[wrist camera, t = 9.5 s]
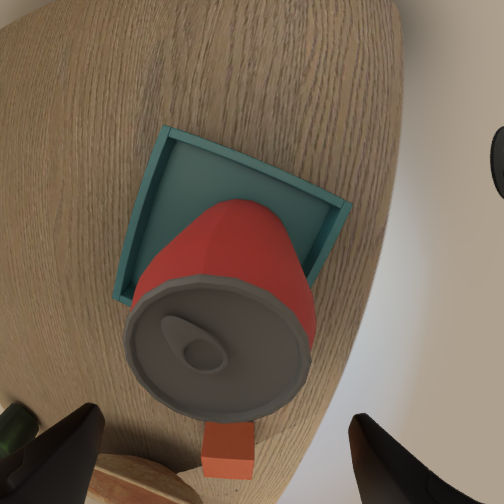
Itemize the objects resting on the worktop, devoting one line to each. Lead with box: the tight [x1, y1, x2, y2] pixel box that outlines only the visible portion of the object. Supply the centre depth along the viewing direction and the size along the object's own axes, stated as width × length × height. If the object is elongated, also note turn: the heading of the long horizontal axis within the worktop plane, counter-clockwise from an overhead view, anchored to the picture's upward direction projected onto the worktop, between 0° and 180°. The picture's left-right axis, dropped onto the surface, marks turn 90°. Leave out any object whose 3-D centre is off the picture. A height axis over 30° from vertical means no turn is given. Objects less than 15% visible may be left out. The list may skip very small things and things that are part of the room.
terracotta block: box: [201, 422, 254, 480], centre depth 24 cm, size 5×5×5 cm
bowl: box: [88, 454, 203, 504], centre depth 26 cm, size 24×24×8 cm
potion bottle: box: [0, 403, 39, 460], centre depth 20 cm, size 8×8×18 cm
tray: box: [112, 125, 353, 307], centre depth 18 cm, size 12×12×2 cm
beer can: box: [122, 199, 316, 424], centre depth 13 cm, size 7×7×12 cm
